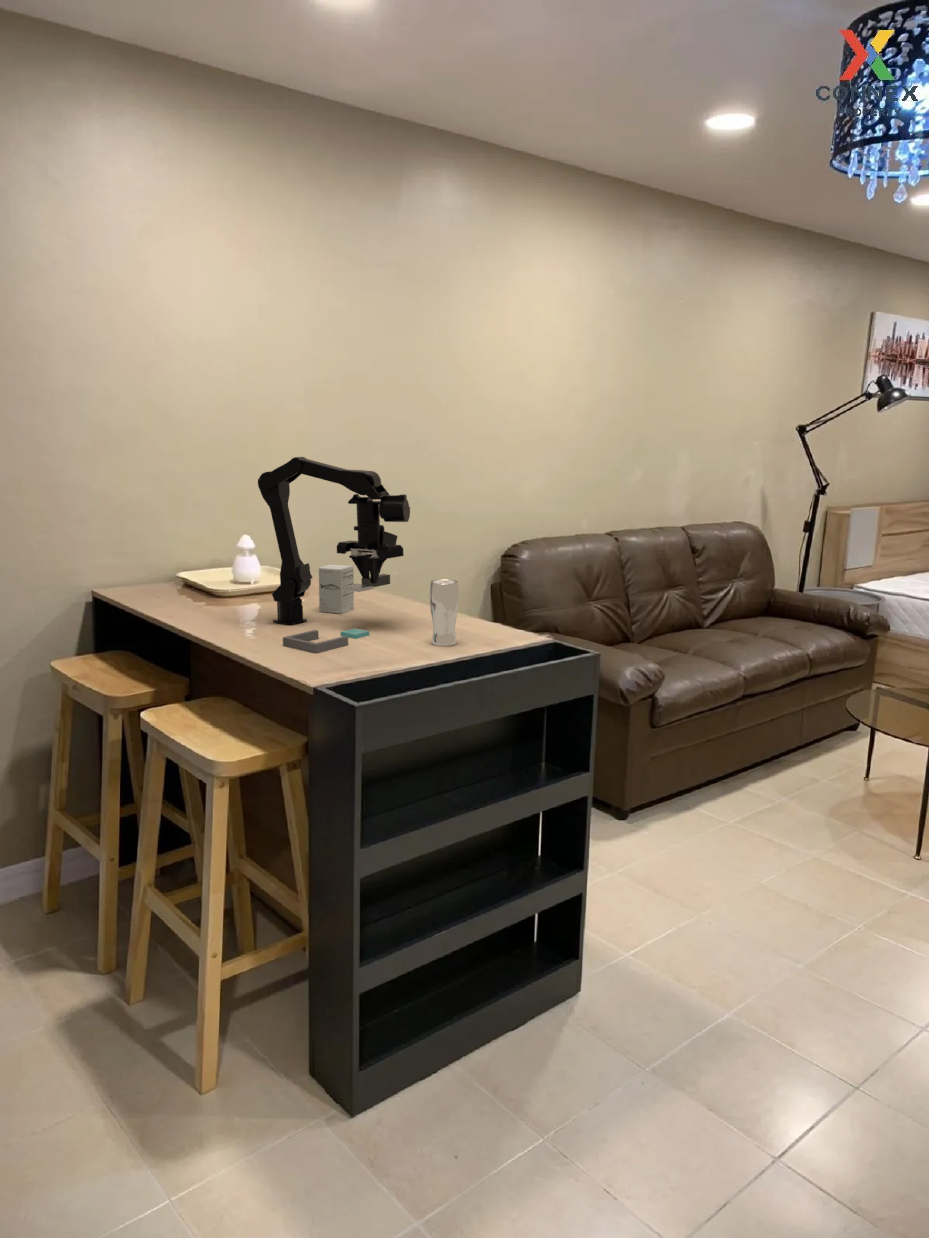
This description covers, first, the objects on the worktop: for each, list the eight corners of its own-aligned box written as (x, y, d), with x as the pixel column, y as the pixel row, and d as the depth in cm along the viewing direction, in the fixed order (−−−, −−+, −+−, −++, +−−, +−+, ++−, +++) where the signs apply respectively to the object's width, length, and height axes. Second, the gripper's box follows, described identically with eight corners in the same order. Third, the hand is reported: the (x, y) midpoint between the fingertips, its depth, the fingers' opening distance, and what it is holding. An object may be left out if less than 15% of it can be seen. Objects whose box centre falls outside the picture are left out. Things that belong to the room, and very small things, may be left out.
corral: (283, 645, 212) (282, 637, 212) (315, 637, 220) (314, 629, 220) (316, 653, 205) (316, 644, 205) (348, 644, 213) (348, 636, 213)
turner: (378, 582, 236) (378, 573, 236) (395, 584, 233) (395, 575, 232) (342, 589, 226) (342, 580, 226) (359, 592, 223) (358, 582, 222)
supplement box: (318, 612, 250) (317, 567, 247) (332, 607, 256) (331, 563, 254) (341, 614, 247) (340, 569, 244) (355, 609, 254) (354, 565, 251)
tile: (340, 637, 222) (340, 631, 222) (354, 634, 226) (354, 628, 226) (355, 640, 219) (355, 634, 219) (369, 637, 223) (369, 631, 223)
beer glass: (429, 639, 219) (428, 579, 216) (457, 639, 219) (457, 578, 216) (430, 646, 212) (430, 584, 209) (459, 646, 213) (460, 584, 209)
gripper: (417, 520, 227) (419, 581, 230) (364, 517, 238) (367, 575, 242) (386, 524, 218) (388, 588, 222) (333, 521, 230) (336, 581, 233)
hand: (370, 582), depth 230 cm, fingers closed on turner, 2 cm apart
